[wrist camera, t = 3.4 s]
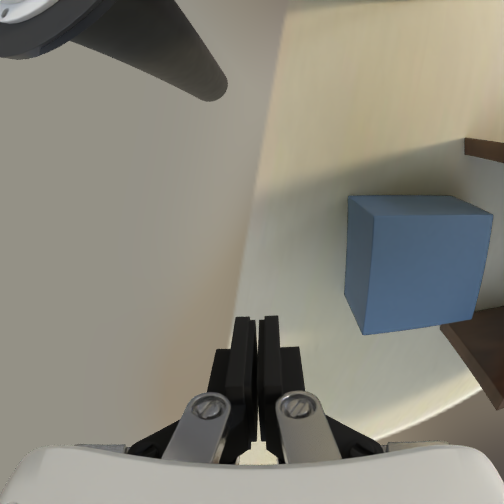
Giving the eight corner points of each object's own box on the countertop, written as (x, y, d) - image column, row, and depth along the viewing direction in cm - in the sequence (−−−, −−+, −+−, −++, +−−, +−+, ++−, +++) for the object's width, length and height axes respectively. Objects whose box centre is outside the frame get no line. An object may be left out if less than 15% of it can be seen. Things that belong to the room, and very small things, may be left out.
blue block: (343, 294, 22) (362, 335, 17) (347, 195, 19) (373, 216, 15) (439, 285, 21) (471, 319, 17) (451, 195, 19) (493, 214, 14)
